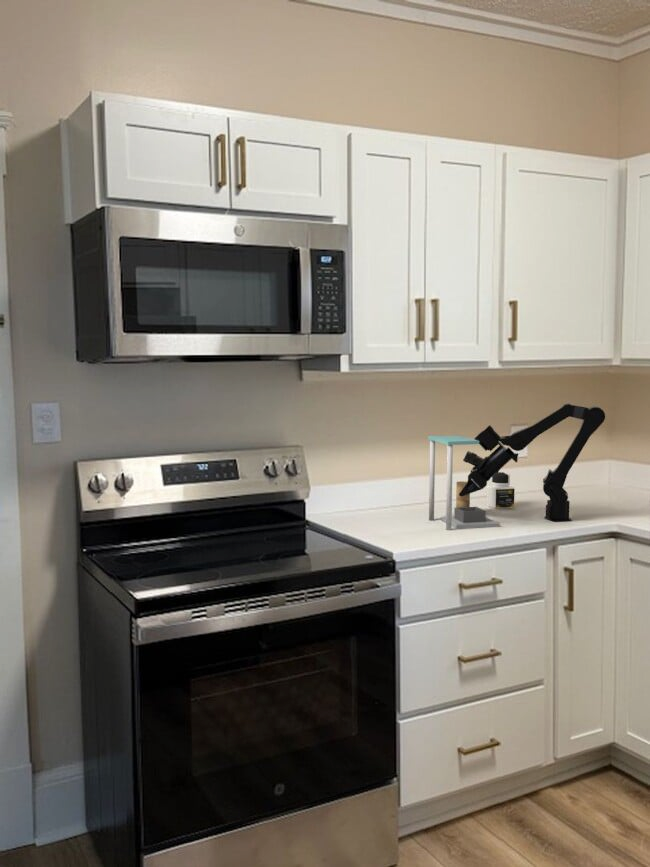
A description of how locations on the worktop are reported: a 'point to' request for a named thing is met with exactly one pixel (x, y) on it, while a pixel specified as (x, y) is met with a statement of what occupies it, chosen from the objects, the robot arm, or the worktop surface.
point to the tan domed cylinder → (463, 500)
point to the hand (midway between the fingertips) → (460, 493)
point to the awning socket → (462, 515)
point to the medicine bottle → (500, 492)
